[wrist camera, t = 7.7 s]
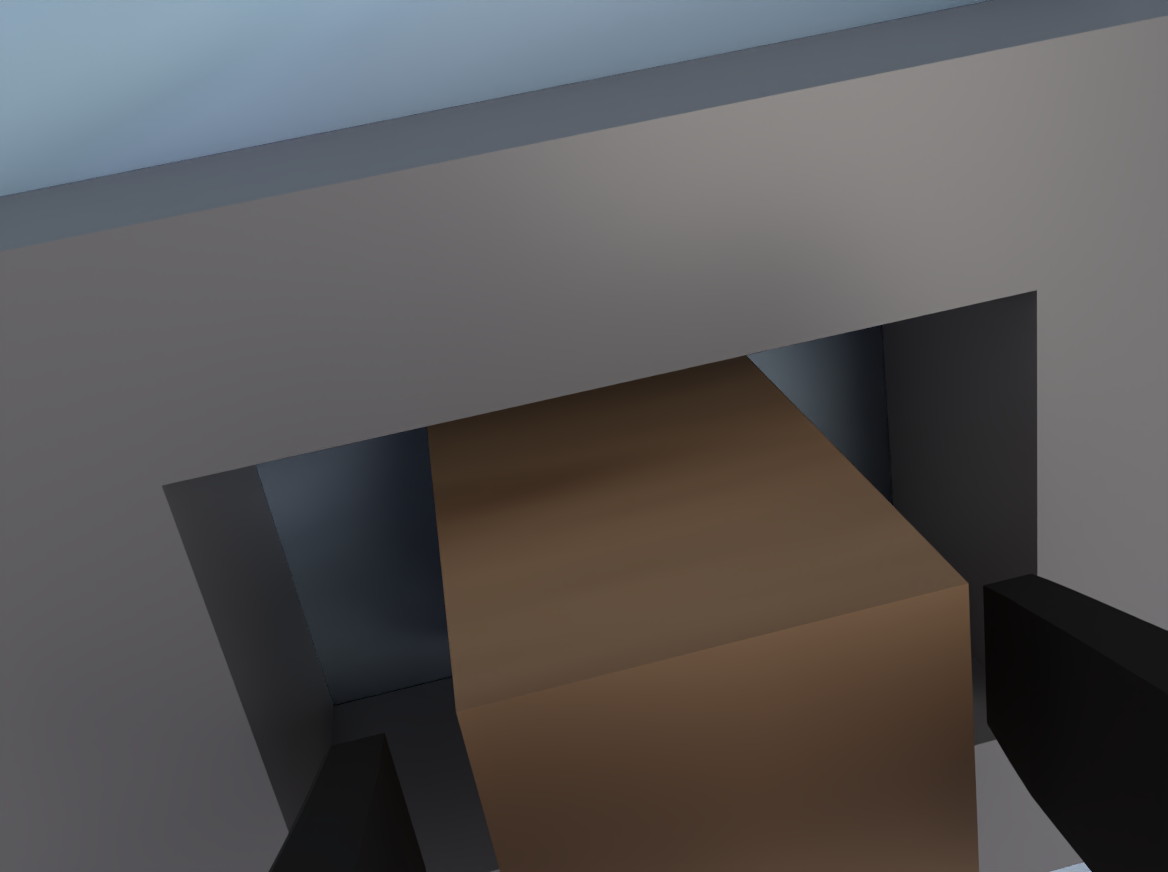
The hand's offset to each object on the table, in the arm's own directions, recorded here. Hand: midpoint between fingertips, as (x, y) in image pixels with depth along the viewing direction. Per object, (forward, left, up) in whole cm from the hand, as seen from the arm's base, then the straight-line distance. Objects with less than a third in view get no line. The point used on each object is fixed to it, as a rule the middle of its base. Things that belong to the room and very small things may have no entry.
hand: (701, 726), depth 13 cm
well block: (0, 0, -7) cm, 7 cm away
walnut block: (0, 0, -7) cm, 7 cm away
